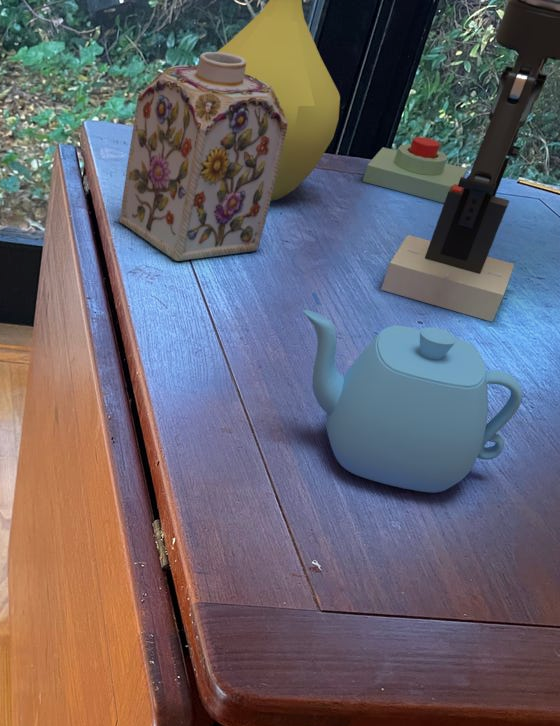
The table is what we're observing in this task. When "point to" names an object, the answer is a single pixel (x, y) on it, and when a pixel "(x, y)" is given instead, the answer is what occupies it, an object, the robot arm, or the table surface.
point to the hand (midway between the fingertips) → (463, 237)
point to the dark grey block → (482, 238)
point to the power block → (413, 173)
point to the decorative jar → (203, 159)
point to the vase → (291, 86)
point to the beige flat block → (447, 281)
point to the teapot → (410, 406)
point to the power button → (424, 147)
